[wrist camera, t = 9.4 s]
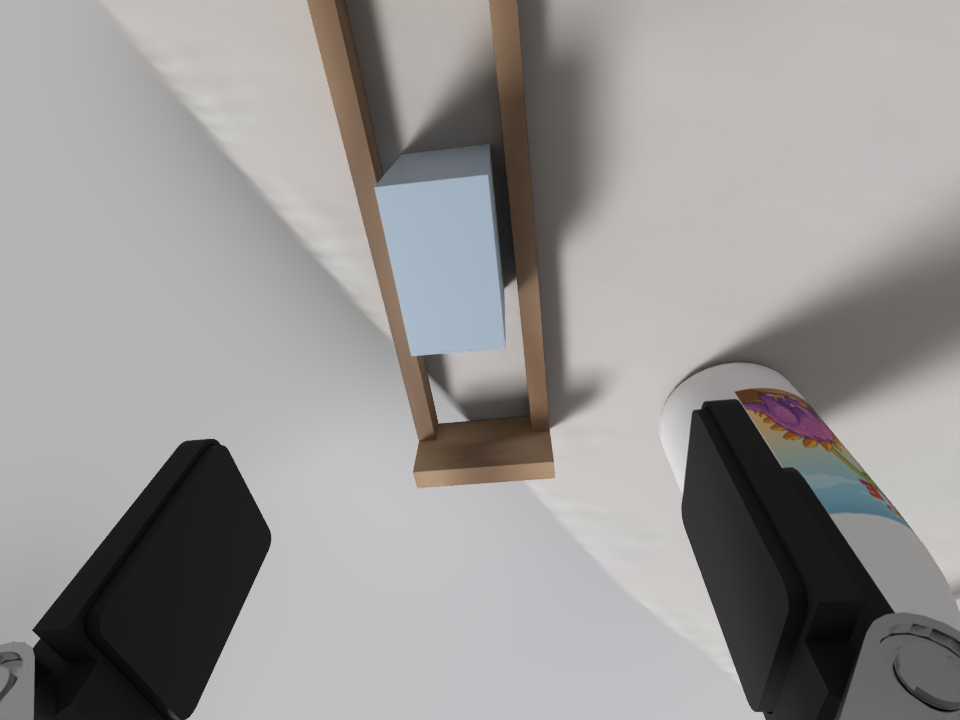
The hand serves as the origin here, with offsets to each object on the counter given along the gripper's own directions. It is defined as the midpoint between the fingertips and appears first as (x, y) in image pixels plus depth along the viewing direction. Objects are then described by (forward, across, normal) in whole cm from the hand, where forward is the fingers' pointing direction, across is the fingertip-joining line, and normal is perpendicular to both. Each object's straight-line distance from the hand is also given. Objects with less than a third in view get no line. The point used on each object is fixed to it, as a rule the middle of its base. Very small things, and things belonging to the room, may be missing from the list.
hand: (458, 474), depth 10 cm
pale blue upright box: (+17, +1, 0) cm, 17 cm away
